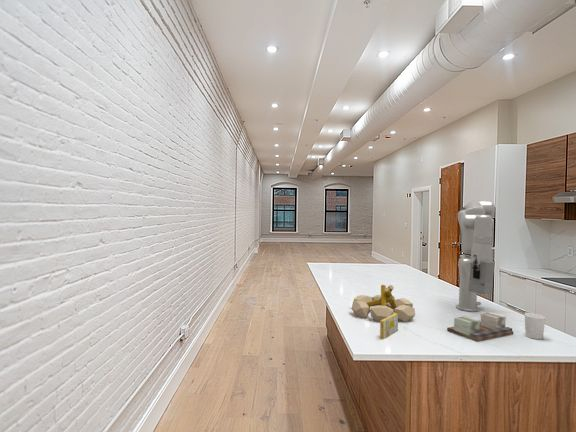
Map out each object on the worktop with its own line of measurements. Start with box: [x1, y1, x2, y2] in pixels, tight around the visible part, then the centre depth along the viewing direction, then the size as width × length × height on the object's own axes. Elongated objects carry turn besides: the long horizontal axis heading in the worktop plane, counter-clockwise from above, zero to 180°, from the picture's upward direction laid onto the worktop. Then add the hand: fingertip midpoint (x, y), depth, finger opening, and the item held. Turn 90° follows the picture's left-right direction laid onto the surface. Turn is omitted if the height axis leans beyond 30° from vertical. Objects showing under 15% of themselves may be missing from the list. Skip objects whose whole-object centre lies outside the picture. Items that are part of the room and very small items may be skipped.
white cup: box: [524, 312, 546, 340], centre depth 168 cm, size 8×8×10 cm
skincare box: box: [469, 261, 495, 296], centre depth 172 cm, size 8×7×16 cm
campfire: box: [351, 284, 416, 323], centre depth 201 cm, size 35×34×17 cm
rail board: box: [446, 311, 514, 343], centre depth 172 cm, size 26×16×8 cm, turn 116°
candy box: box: [379, 312, 399, 340], centre depth 167 cm, size 16×2×8 cm, turn 141°
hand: (481, 277), depth 172 cm, fingers closed on skincare box, 6 cm apart
